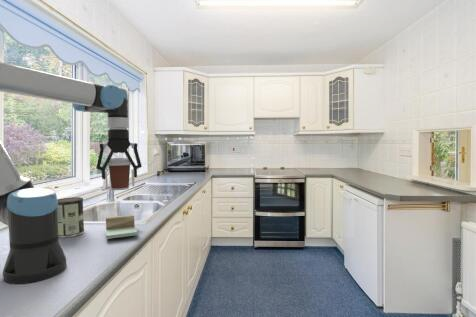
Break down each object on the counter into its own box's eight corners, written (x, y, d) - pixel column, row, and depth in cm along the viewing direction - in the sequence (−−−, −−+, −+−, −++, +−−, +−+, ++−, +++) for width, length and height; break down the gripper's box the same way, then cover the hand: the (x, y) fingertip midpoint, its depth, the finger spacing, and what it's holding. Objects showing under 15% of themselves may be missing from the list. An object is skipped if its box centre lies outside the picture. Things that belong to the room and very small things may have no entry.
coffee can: (73, 228, 129) (71, 196, 128) (89, 231, 125) (88, 198, 124) (49, 235, 120) (47, 200, 119) (66, 239, 116) (65, 202, 115)
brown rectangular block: (134, 229, 128) (134, 215, 127) (106, 232, 123) (105, 218, 123) (134, 228, 129) (133, 214, 129) (106, 231, 125) (105, 217, 125)
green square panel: (134, 229, 127) (137, 235, 116) (106, 232, 123) (106, 239, 112) (134, 226, 127) (137, 232, 116) (106, 229, 123) (106, 235, 112)
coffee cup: (119, 191, 112) (118, 159, 112) (102, 189, 117) (101, 158, 116) (137, 188, 121) (136, 158, 120) (121, 186, 125) (120, 157, 124)
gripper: (146, 129, 125) (147, 183, 126) (87, 129, 116) (89, 187, 118) (148, 128, 118) (149, 185, 119) (86, 128, 109) (88, 189, 111)
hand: (120, 186), depth 118 cm, fingers closed on coffee cup, 9 cm apart
